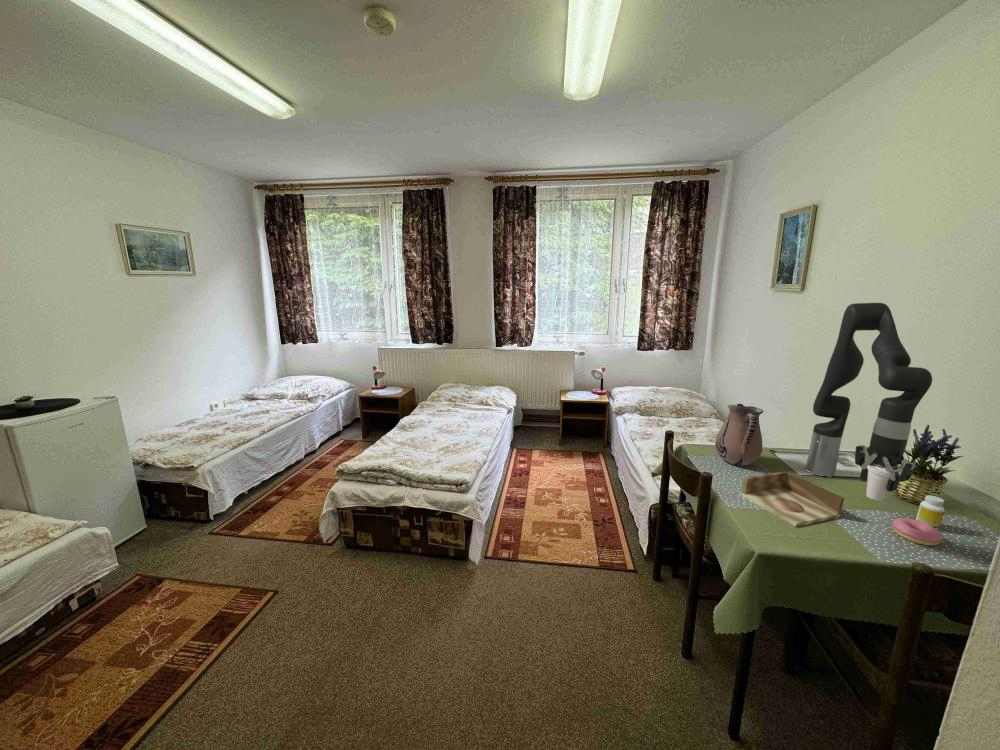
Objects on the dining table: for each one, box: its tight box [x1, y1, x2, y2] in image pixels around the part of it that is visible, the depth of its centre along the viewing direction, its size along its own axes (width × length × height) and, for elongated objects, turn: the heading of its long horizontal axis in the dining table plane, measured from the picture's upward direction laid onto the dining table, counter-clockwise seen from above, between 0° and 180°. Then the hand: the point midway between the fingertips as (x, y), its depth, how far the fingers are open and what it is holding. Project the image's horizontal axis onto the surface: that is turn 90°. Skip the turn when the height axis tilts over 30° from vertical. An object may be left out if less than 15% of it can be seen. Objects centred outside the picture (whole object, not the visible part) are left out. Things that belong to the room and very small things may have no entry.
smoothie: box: [865, 464, 896, 502], centre depth 118 cm, size 6×6×14 cm
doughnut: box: [891, 517, 943, 546], centre depth 122 cm, size 11×11×4 cm
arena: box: [741, 470, 845, 528], centre depth 137 cm, size 20×20×7 cm
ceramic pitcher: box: [714, 403, 764, 467], centre depth 168 cm, size 18×21×25 cm
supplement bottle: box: [915, 495, 945, 531], centre depth 127 cm, size 5×5×10 cm
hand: (877, 485), depth 118 cm, fingers closed on smoothie, 6 cm apart
